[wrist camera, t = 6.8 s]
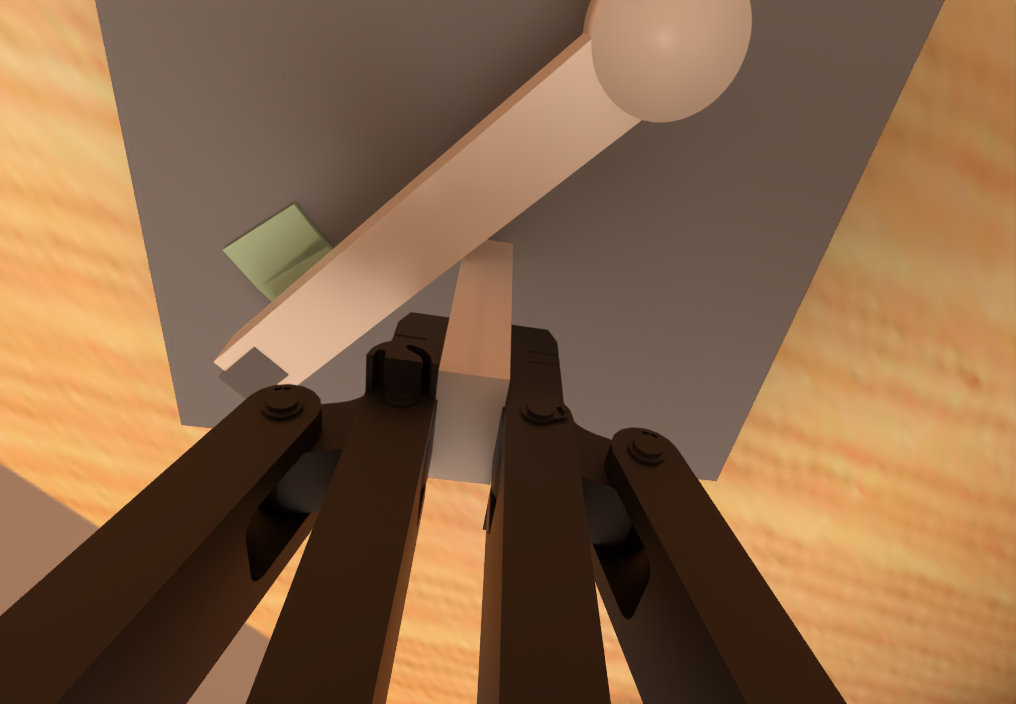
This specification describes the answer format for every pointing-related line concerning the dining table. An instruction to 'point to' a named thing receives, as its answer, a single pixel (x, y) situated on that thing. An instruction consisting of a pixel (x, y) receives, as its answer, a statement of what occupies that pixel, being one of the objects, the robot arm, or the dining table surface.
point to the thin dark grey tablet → (536, 231)
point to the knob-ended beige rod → (497, 175)
